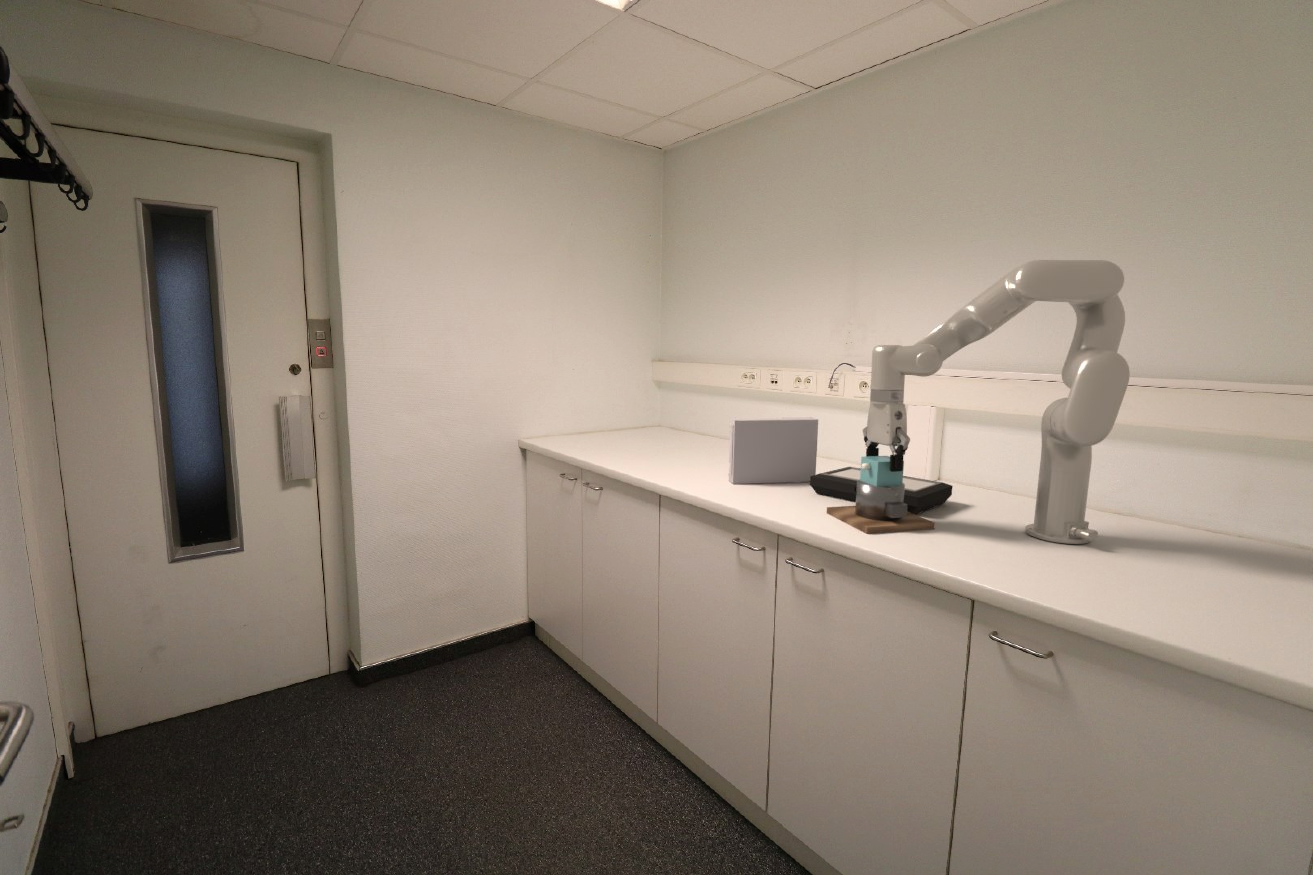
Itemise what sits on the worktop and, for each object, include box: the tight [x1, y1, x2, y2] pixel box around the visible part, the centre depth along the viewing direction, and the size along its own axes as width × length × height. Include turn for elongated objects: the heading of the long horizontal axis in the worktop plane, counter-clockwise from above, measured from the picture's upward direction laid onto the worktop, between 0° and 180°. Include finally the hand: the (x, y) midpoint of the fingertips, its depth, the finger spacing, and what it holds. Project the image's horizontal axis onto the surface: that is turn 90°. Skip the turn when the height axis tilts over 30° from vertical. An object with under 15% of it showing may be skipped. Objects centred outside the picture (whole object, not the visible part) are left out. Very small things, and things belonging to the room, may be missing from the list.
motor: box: [854, 479, 908, 521], centre depth 150 cm, size 14×11×10 cm
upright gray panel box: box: [728, 417, 819, 485], centre depth 194 cm, size 6×27×20 cm, turn 100°
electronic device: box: [809, 466, 953, 515], centre depth 173 cm, size 32×6×20 cm
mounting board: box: [826, 505, 935, 535], centre depth 152 cm, size 18×18×2 cm
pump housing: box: [860, 455, 905, 487], centre depth 150 cm, size 7×9×6 cm
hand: (883, 467), depth 150 cm, fingers open, 9 cm apart
